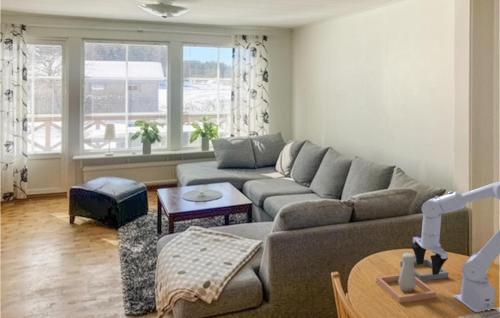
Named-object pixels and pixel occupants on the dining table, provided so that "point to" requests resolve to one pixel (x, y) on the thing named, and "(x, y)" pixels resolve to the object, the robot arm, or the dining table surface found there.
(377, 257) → the dining table surface
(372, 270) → the dining table surface
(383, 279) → the salmon pink square frame
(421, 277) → the grey square frame
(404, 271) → the salt shaker
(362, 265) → the dining table surface
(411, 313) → the dining table surface
